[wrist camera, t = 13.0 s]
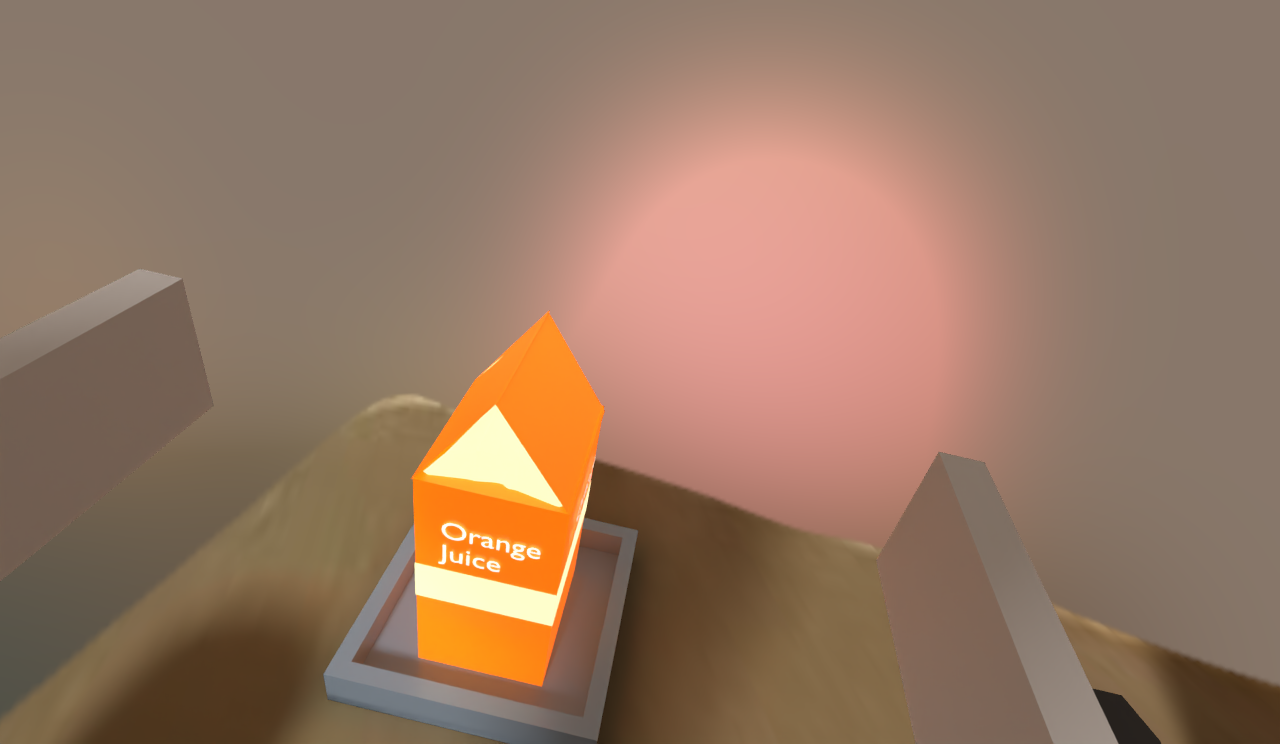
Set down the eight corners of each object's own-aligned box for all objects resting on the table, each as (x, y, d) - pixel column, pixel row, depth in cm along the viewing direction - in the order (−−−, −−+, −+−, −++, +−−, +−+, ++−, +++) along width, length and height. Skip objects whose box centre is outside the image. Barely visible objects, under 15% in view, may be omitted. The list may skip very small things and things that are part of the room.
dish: (632, 553, 48) (638, 530, 46) (591, 763, 35) (597, 740, 34) (437, 507, 48) (437, 483, 46) (327, 699, 35) (323, 674, 34)
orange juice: (576, 569, 45) (621, 324, 34) (543, 688, 37) (587, 425, 26) (468, 544, 45) (478, 292, 34) (414, 658, 37) (404, 383, 26)
